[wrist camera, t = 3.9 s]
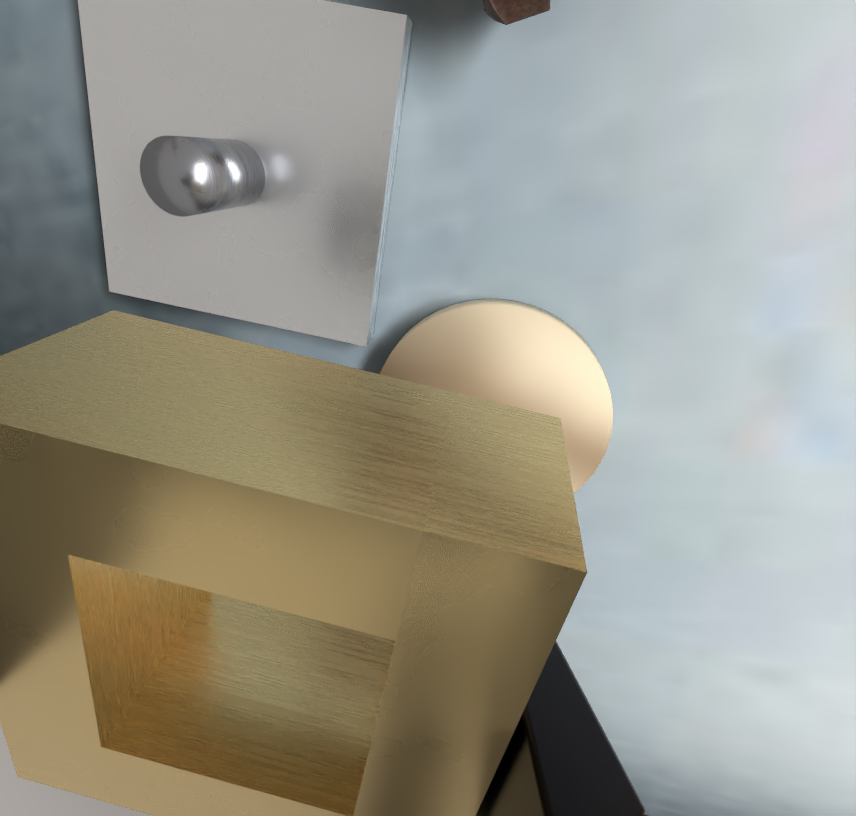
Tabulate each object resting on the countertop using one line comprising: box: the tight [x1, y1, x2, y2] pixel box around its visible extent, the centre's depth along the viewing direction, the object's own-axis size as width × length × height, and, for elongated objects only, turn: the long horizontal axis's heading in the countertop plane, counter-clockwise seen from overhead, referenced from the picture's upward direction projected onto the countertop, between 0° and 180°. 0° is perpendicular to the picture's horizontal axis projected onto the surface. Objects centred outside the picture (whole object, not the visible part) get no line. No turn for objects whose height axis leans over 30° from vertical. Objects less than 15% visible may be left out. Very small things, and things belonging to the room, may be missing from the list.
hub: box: [78, 0, 413, 346], centre depth 16 cm, size 10×10×4 cm
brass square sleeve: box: [0, 310, 587, 816], centre depth 8 cm, size 7×7×3 cm
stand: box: [380, 299, 613, 493], centre depth 19 cm, size 9×9×4 cm
